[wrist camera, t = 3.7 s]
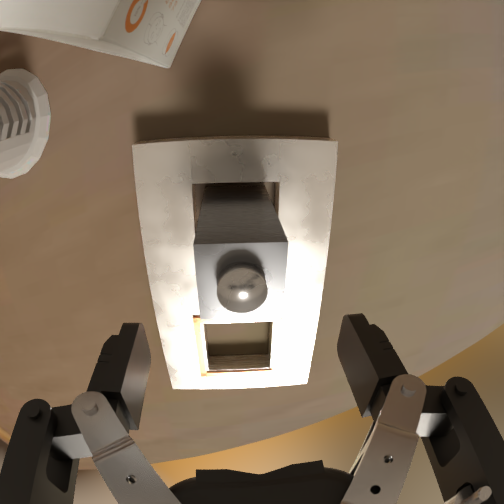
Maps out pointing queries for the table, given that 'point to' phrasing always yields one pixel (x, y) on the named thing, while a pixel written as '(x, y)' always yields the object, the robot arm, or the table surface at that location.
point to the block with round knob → (239, 254)
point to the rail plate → (182, 253)
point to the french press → (22, 121)
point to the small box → (105, 25)
